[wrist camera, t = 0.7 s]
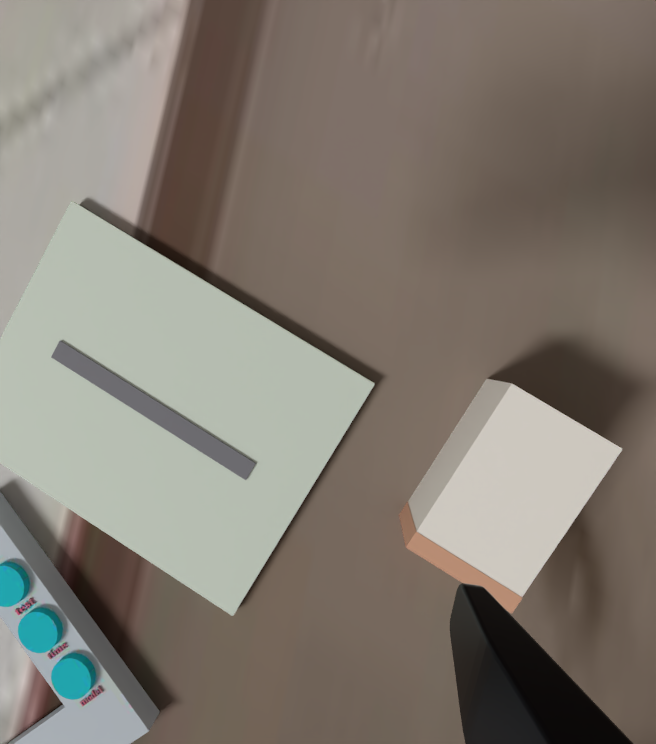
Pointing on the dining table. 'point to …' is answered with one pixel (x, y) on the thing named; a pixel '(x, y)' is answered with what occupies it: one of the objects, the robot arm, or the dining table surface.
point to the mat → (165, 407)
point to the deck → (504, 491)
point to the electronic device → (66, 649)
